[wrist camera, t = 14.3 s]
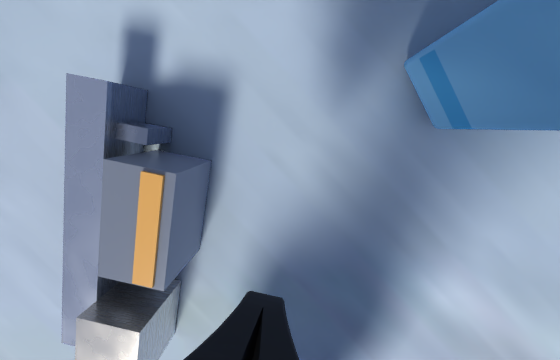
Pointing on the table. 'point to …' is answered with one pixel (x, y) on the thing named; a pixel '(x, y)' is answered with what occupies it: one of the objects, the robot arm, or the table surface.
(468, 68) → the data package
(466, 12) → the table surface
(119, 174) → the block
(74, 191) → the rail
